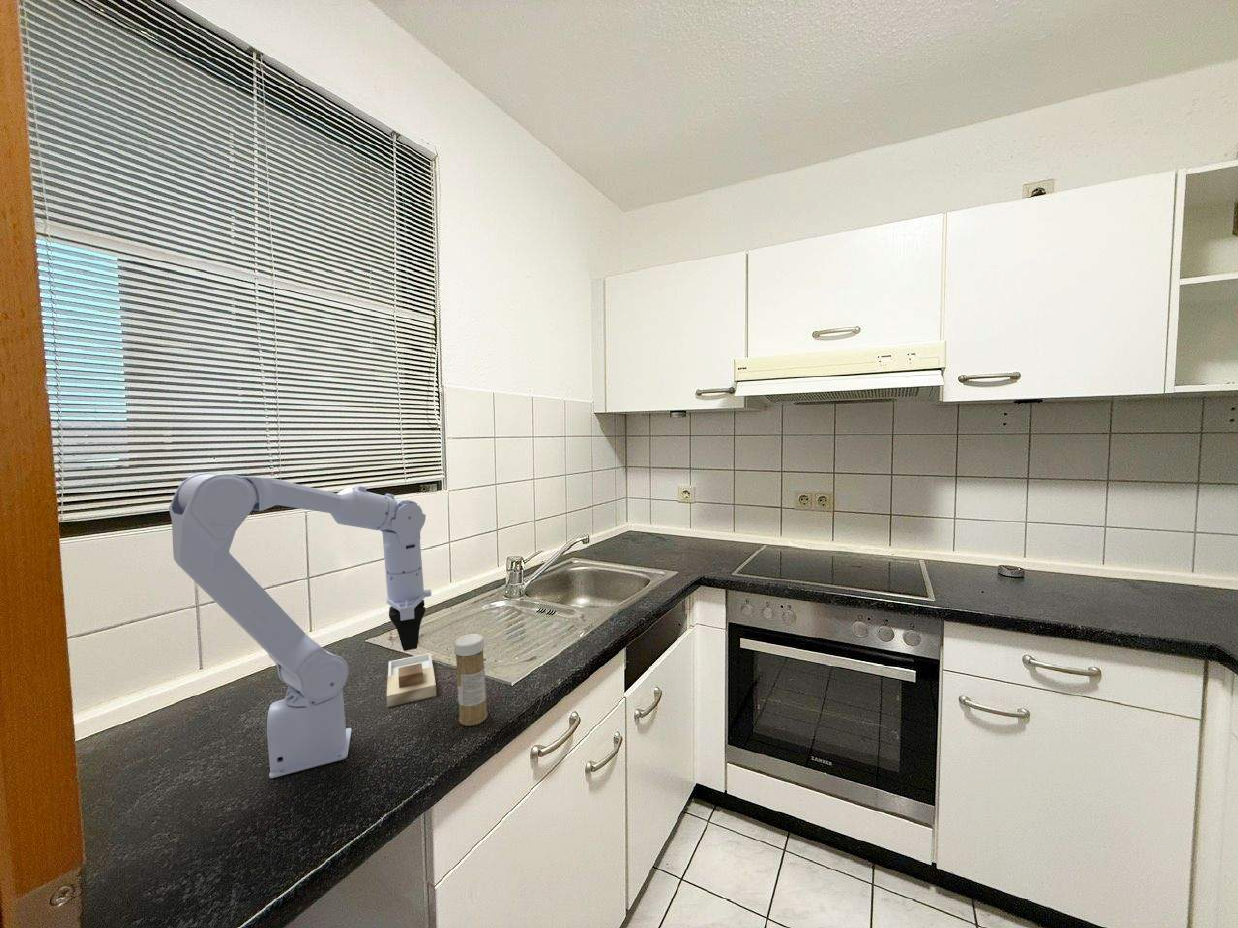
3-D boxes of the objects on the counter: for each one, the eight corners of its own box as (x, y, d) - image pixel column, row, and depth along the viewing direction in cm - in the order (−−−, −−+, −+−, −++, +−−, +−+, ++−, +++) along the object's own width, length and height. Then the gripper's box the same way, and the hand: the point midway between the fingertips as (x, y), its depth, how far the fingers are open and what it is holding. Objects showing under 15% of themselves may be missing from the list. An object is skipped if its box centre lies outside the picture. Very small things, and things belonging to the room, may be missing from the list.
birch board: (387, 707, 85) (386, 695, 85) (388, 686, 93) (387, 676, 93) (436, 695, 89) (435, 684, 88) (433, 676, 96) (433, 666, 96)
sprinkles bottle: (462, 712, 83) (457, 634, 82) (490, 710, 83) (485, 631, 82) (456, 728, 78) (450, 645, 77) (485, 725, 78) (480, 643, 78)
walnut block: (399, 687, 88) (398, 677, 88) (399, 678, 91) (398, 667, 91) (423, 682, 89) (422, 671, 89) (422, 673, 93) (421, 662, 93)
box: (388, 685, 93) (387, 678, 93) (389, 668, 100) (388, 661, 100) (433, 675, 96) (433, 668, 96) (431, 659, 103) (430, 652, 103)
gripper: (431, 576, 79) (438, 658, 80) (427, 557, 92) (432, 627, 93) (382, 583, 76) (390, 669, 77) (385, 562, 89) (391, 635, 90)
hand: (410, 647), depth 85 cm, fingers closed
